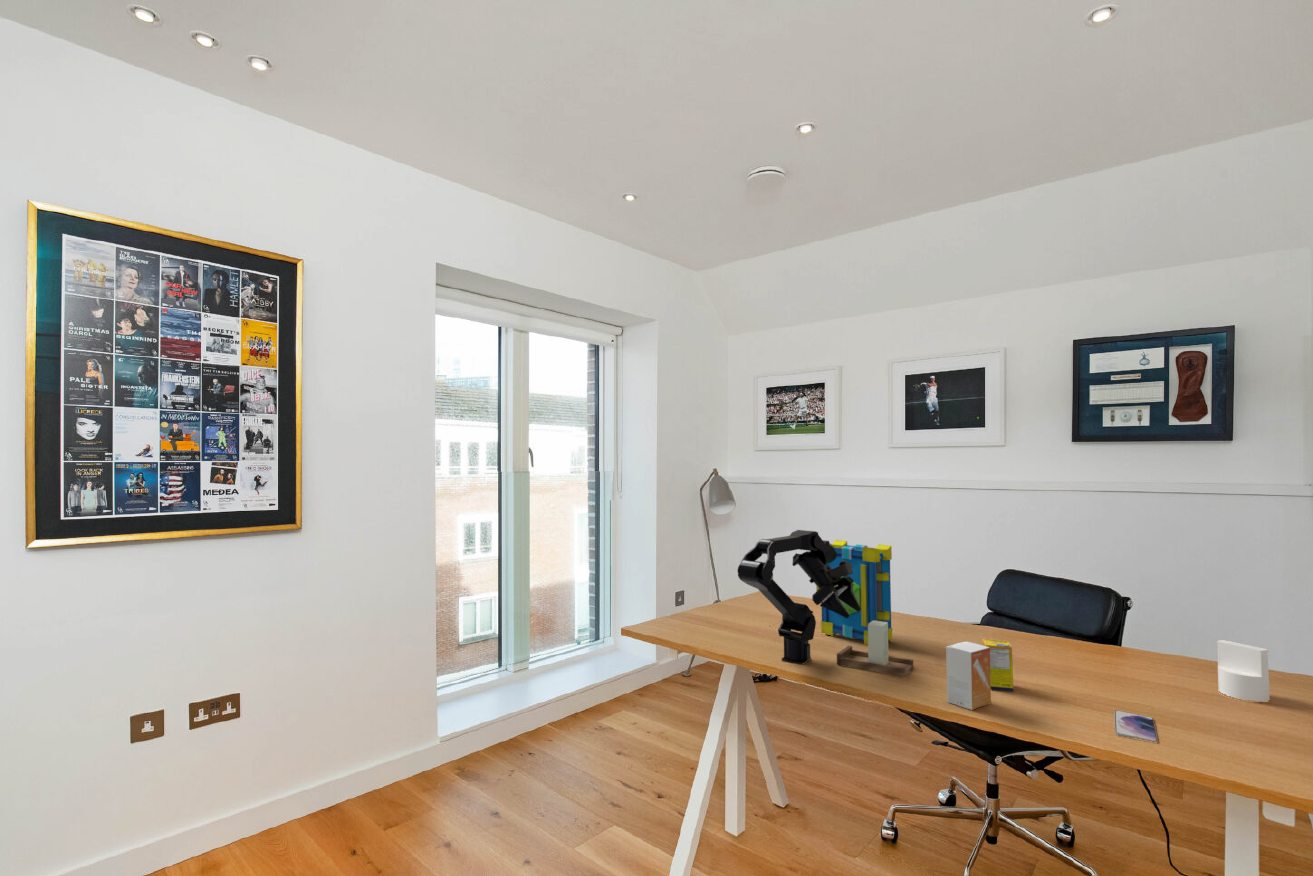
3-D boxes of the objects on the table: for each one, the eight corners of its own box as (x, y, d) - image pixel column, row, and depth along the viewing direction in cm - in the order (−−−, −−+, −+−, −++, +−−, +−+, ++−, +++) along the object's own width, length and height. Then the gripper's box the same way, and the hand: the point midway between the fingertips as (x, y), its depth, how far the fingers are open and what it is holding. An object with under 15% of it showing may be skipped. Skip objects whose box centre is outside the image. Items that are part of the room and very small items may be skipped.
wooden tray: (836, 664, 177) (836, 653, 177) (848, 656, 185) (848, 645, 185) (904, 677, 166) (904, 665, 166) (913, 667, 174) (913, 656, 174)
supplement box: (1009, 684, 161) (1007, 640, 161) (1013, 692, 155) (1012, 646, 156) (982, 681, 163) (981, 638, 163) (986, 689, 157) (985, 644, 158)
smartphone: (1153, 717, 139) (1158, 742, 126) (1153, 721, 139) (1158, 746, 126) (1113, 709, 143) (1114, 732, 130) (1113, 713, 143) (1114, 737, 130)
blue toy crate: (838, 627, 217) (837, 539, 218) (902, 642, 199) (900, 545, 200) (813, 635, 208) (811, 542, 209) (877, 650, 190) (875, 549, 191)
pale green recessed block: (868, 664, 174) (867, 624, 174) (873, 660, 178) (872, 620, 179) (883, 667, 172) (882, 626, 172) (888, 662, 176) (888, 622, 176)
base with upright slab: (1210, 692, 154) (1208, 642, 155) (1231, 687, 158) (1229, 638, 159) (1257, 705, 146) (1255, 652, 147) (1278, 699, 150) (1275, 648, 150)
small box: (972, 711, 143) (971, 652, 144) (946, 702, 149) (945, 645, 149) (992, 703, 148) (990, 646, 148) (966, 695, 153) (964, 640, 154)
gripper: (822, 556, 175) (863, 602, 168) (846, 548, 190) (884, 590, 183) (796, 582, 180) (834, 627, 173) (821, 572, 195) (858, 613, 188)
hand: (854, 613), depth 179 cm, fingers open, 9 cm apart
